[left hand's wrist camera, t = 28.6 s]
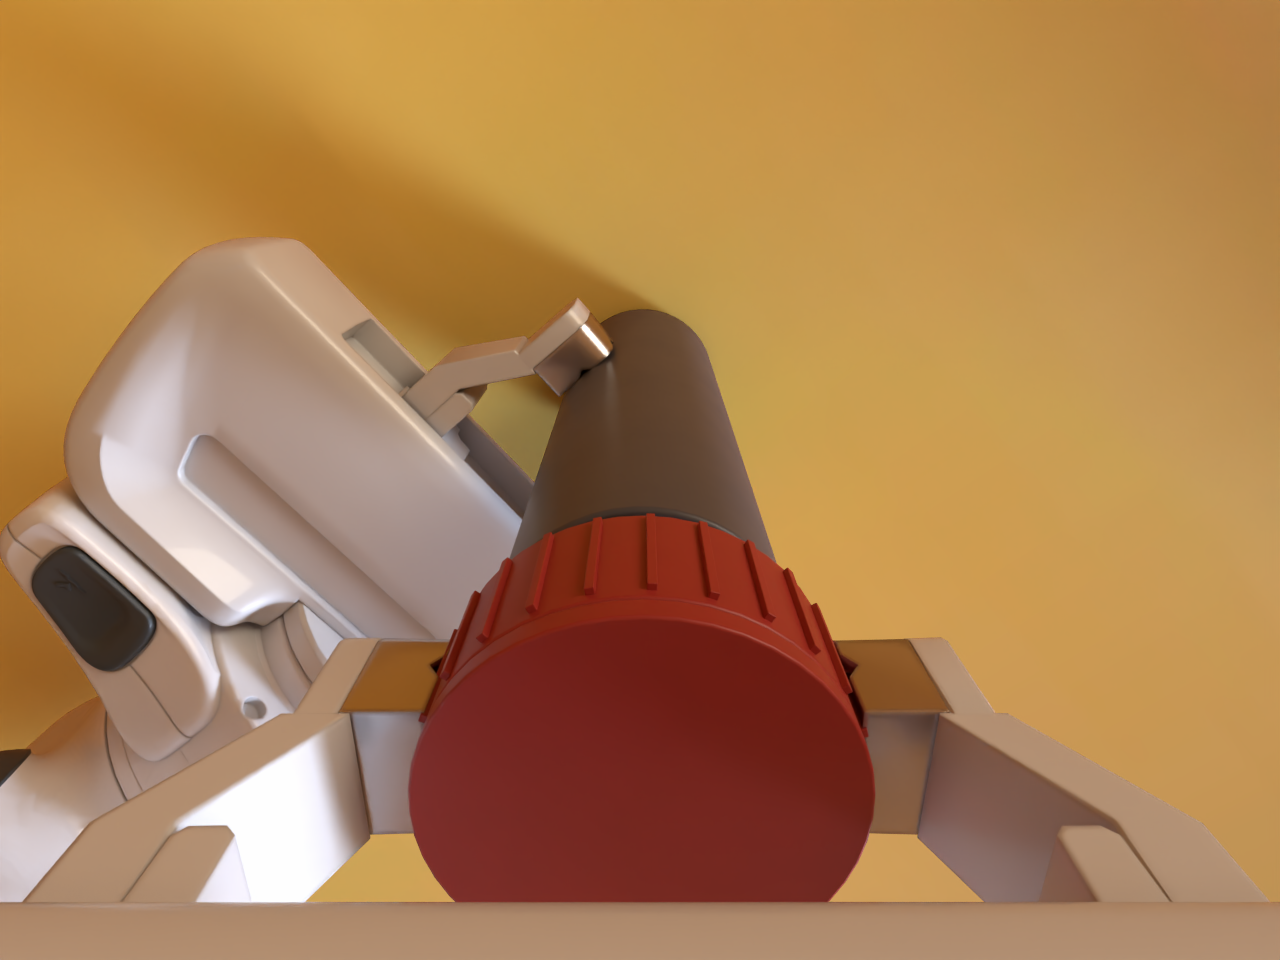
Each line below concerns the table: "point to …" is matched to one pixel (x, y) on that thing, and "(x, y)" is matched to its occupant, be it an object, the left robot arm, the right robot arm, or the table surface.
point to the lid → (641, 729)
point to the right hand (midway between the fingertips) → (668, 406)
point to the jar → (644, 440)
